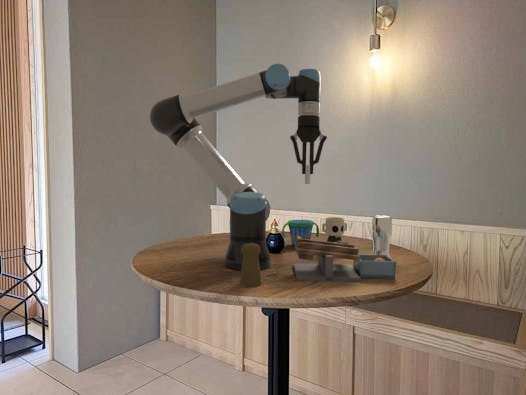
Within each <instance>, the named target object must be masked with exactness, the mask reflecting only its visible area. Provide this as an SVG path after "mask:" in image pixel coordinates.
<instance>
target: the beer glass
mask: <svg viewBox="0 0 526 395" xmlns="http://www.w3.org/2000/svg"><path fill="white" fill-rule="evenodd" d="M392 218H393V217H392V216H388V215H373V216H372V220H371V221H372V222H371V236H372V246H373V251H372V254H371V255H387V256H389V257H390V244H391V239H392V234H393V219H392ZM390 258H391V257H390Z"/></svg>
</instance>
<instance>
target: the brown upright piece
mask: <svg viewBox="0 0 526 395" xmlns="http://www.w3.org/2000/svg"><path fill="white" fill-rule="evenodd" d="M260 250H261V249H260V246H259V245H258V244H254V243H248V244H244V245H243V246H242V249H241V252H242V254H243V262H242V269H241V270H240V277H239V278H240V279H239V283H240V284H241V285H240V284H239V285H240V286H242V285H244V286H243V287H246V286H255V287H259V285H260V286H261V285H262V276H261V269H260V266H259V257H258V256H259V254H260Z"/></svg>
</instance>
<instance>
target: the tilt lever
mask: <svg viewBox="0 0 526 395" xmlns="http://www.w3.org/2000/svg"><path fill="white" fill-rule="evenodd" d="M294 249H295V250H296V253H297V256H298V260H306V261H314V256H317V257H318V256H325V255H332V256H333V259H334V258H335V259H343V260H352V261H354V260H359V261H360V256H359V255H358V254H359V250H360V249H359V248H356V247H355V245H354V244H350V243H349V242H347V241H344V240H342V241H337V242H327V240H326V241H325V240H324V241H323V240H317V239H310V240H309V239H301V236H296V242H295V246H294Z"/></svg>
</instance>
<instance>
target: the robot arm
mask: <svg viewBox="0 0 526 395" xmlns="http://www.w3.org/2000/svg"><path fill="white" fill-rule="evenodd" d="M321 86H322V85H321V72H320V70H318V69H316V68H302V69H300V70H299V71H298V74H297V75H291V72H290V71H289V69H288V67H287V66H286V65H284V64H281V63H273V64H271V65H269V67H268V68H267V69H265V70H262V71H259V72H257V73H253V74H251V75H247V76H243V77H241V78H238V79H235V80H231V81H229V82H226V83H222V84H220V85H216V86H212V87H210V88H206V89H203V90H200V91H197V92H194V93H191V94H190V93H189V94H186V95H184V94H182V93H180V94H176V95H173V96H169V97H167V98H164V99H161V100H158V101H157V102H156V103H155V104H153V106H152V108H151V109H150V113H149V121H150V124H151V126H152V127H153V129H154V130H155V131H156V132H158V133H159V134H162V135H163V136H164V135H165V136H166V137H168V139H169V140H170V141H171V142H172V143H173V144H174V146H175V147H176V148H178V149H183V150H184V151H186V153H187V154H188V155H189V156H190V158H192V160H193V161H194V162H195V163H196V164H197V166H198V167H199V168H200V169H201V170H202V171H203V173H204V174H205V175H206V176H207V177H208V178H209V180H210V181H211V182H212V183H213V185H215V187H217V189H218V191H219V192H221V193H222V195H223V197H225V199H226V206H227V207H228V208H229V243H228V247H227V248H226V253H225V255H224V262H223V264H224V267H226V268H229V269H232V270H239V271H241V269H242V262H243V254H242V252H241V249H242V246H243V245H244V244H248V243H254V244H258V245H259V246H260V249H261V250H260V254H259V256H258V257H259V266H260V270H263V269H267V268H270V267H271V266H272V265H271V263H272V262H271V260H272V259H271V255H270V251H269V248H268V245H267V242H266V240H267V239H266V234H267V233H266V232H267V230H266V228H267V221H268V219H269V217H270V215H271V206H270V203H269V201H268V199H267V197H266V195H265V194H264V193H261V192H259V191H258V190H257V189H256V187H255V186H254V185H253V184H252V183H246V182H245V181H244V180H243V179H242V178H241V177H240V175H239V174H238V173H237V172H236V171H235V170H234V168H233V167H232V166H231V165H230V164H229V163H228V161H227V160H226V159H225V158H224V157H223V155H222V154H221V153H220V152H219V151H218V149H216V148H215V147H214V145H213V144H212V142H210V141H209V139H208V138H207V137H206V136H205V135H204V134H203V125H201V124H200V122H198V120H197V118H200V117H203V116H206V115H209V114H213V113H215V112H220V111H221V110H222V111H223V110H225V109H228V108H231V107H232V108H233V107H235V106H238V105H241V104H245V103H247V102H250V101H251V102H252V101H254V100H256V99H260V98H263V97H264V98H265V99H273V100H276V99H277V100H278V99H279V100H280V99H281V100H282V99H284V100H285V99H297V115H298V117H297V129H296V131H295V133H294V134H293V135H292V134H291V135H290V136H289V139H290V140H291V142H292V146H293V149H294V154H295V158H296V163H297V164H300V165H301V174H302V175H304V184H306V185H310V184H311V175H314V166H315V165H316V164H319V162H320V159H321V154H322V151H323V147H324V143H325V141H326V140H327V139H328V137H327V135H325V134H322V132H321V129H320V123H321V122H320V121H321V120H320V118H321V117H320V116H319V115H320V114H321V112H320V111H321ZM298 138H299V141H300V142H301V143H302V144H301V145H302V149H301V150H302V152H301V155H302V156H300V151H299V146H298V142H297V140H298ZM317 139H319V143H318V148H317V150H316V154H314V153H315V152H314V151H315V142H316V141H317ZM307 143H309V160H308V162H309V164H307V146H308V145H307ZM314 156H315V158H314ZM301 158H302V159H301Z"/></svg>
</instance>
